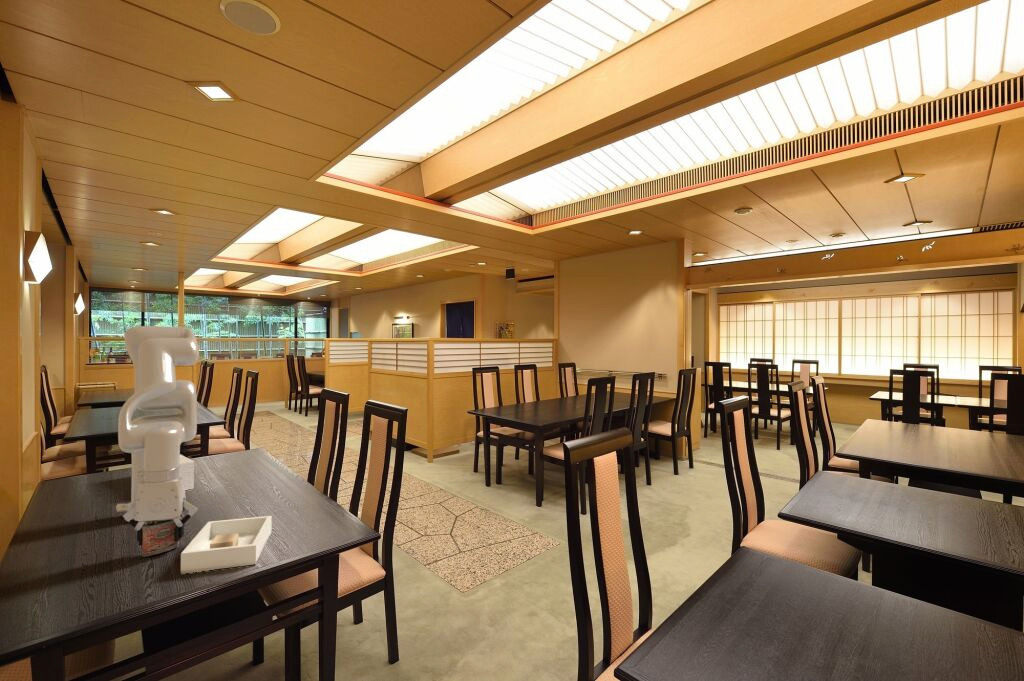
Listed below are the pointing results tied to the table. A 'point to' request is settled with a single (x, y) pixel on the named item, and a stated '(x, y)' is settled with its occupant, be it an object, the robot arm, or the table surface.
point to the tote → (247, 552)
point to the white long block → (187, 472)
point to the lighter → (158, 537)
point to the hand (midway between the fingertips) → (160, 541)
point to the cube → (224, 541)
